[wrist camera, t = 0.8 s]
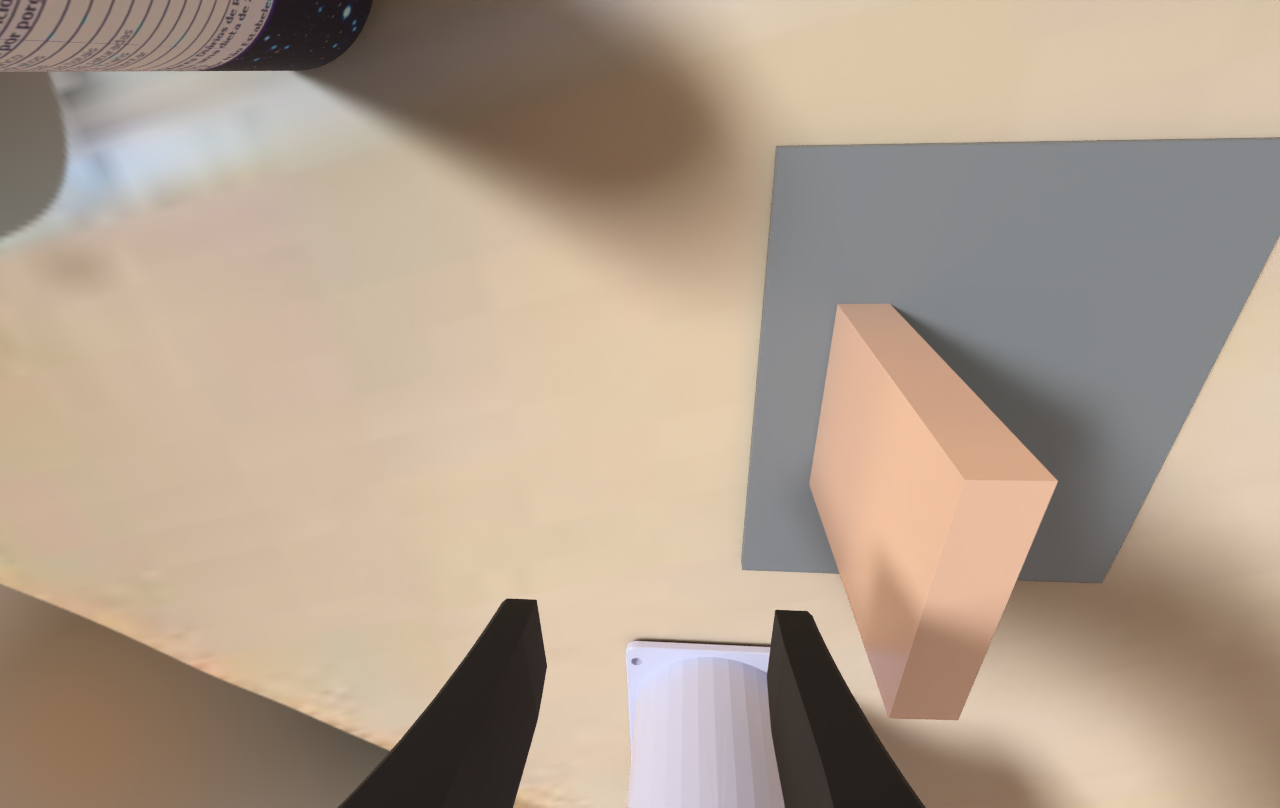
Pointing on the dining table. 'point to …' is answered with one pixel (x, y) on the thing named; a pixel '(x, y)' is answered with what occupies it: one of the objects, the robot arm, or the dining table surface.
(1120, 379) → the slate pad
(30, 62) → the beverage can
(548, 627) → the dining table surface
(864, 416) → the tile
